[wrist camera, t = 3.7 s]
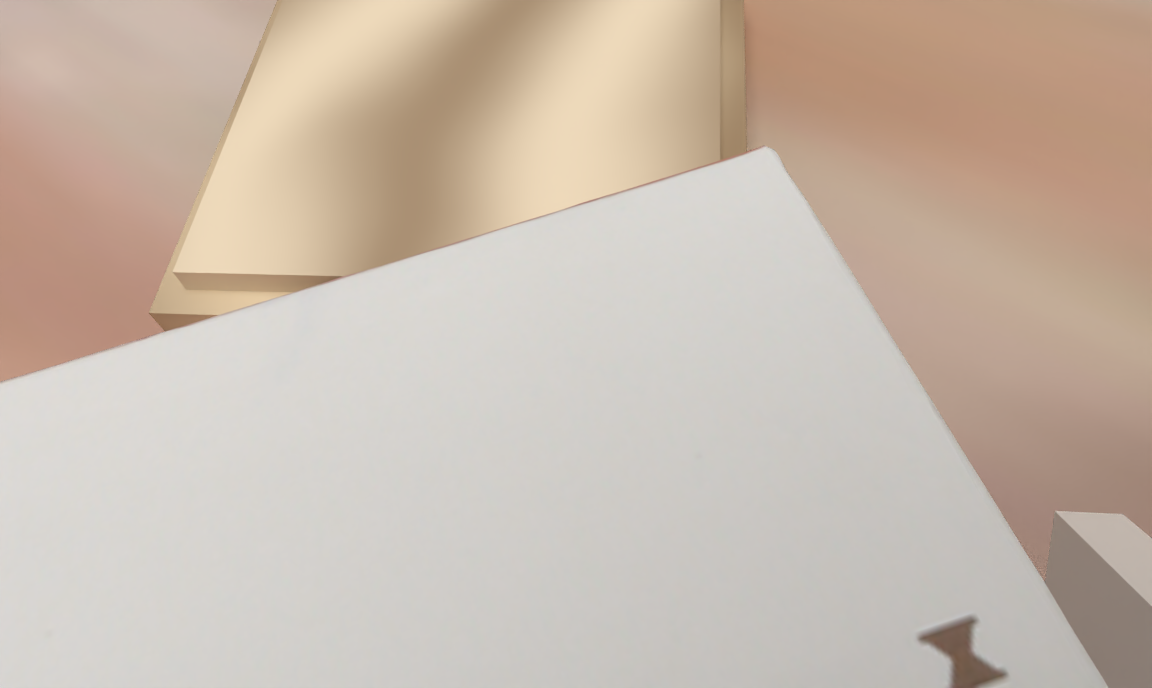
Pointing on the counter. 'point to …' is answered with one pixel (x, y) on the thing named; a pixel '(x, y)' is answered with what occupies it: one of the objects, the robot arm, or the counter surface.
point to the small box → (523, 478)
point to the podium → (445, 131)
